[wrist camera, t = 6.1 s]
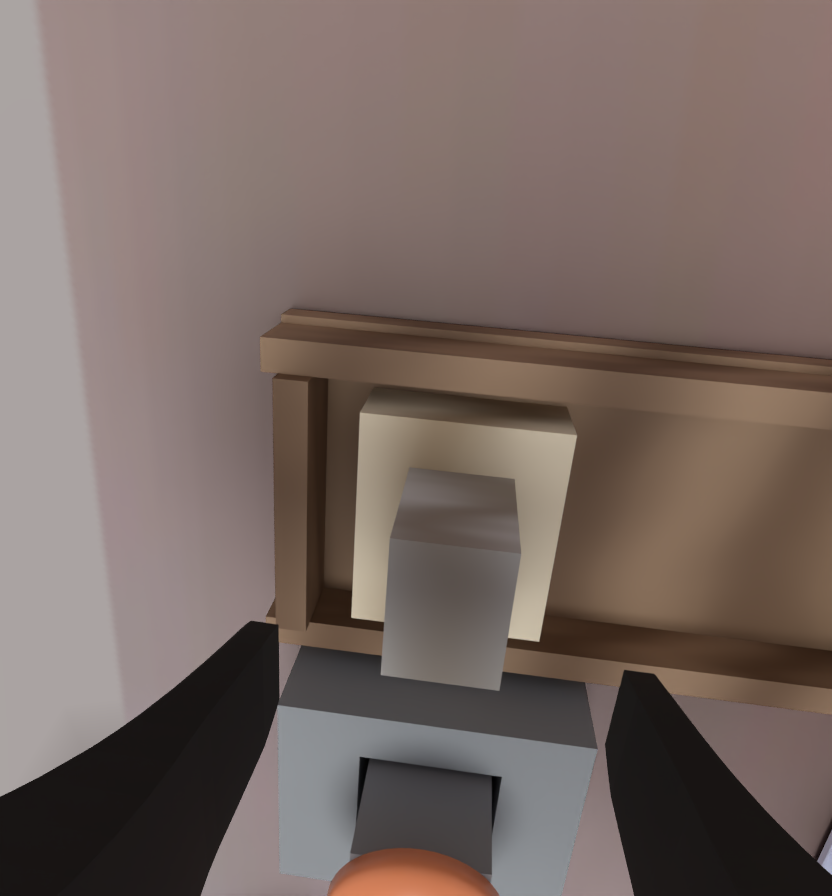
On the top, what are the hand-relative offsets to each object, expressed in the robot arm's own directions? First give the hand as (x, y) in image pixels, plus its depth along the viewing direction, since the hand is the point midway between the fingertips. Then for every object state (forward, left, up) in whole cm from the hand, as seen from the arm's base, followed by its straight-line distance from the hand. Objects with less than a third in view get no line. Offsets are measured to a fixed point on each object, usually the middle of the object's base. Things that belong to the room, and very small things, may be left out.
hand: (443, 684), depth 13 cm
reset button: (0, +10, -6) cm, 11 cm away
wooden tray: (-4, 0, -10) cm, 11 cm away
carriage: (0, 0, -9) cm, 9 cm away
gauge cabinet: (0, +10, -10) cm, 14 cm away
